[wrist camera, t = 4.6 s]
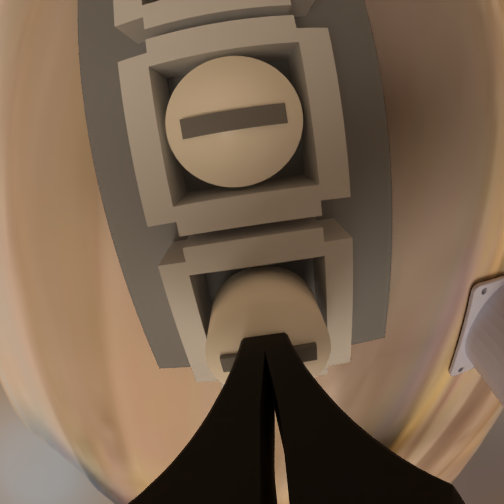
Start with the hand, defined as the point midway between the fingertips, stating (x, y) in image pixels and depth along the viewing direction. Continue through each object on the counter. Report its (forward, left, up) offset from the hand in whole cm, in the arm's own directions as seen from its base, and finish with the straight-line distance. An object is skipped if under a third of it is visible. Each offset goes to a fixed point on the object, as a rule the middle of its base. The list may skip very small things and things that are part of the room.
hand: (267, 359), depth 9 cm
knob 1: (0, -7, -4) cm, 8 cm away
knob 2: (0, 0, -3) cm, 3 cm away
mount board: (0, -7, -6) cm, 9 cm away
